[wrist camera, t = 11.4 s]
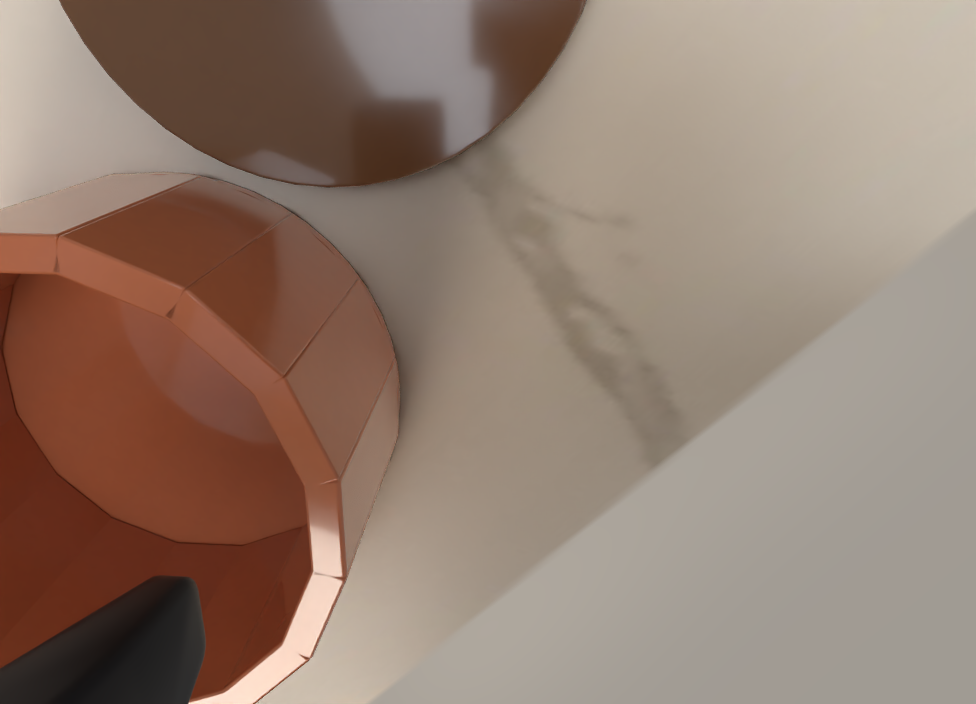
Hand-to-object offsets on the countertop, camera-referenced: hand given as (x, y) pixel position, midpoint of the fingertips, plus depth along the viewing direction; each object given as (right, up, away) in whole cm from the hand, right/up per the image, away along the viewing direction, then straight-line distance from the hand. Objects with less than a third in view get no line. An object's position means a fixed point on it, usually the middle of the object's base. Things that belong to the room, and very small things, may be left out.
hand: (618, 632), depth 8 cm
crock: (-9, +2, +13) cm, 16 cm away
